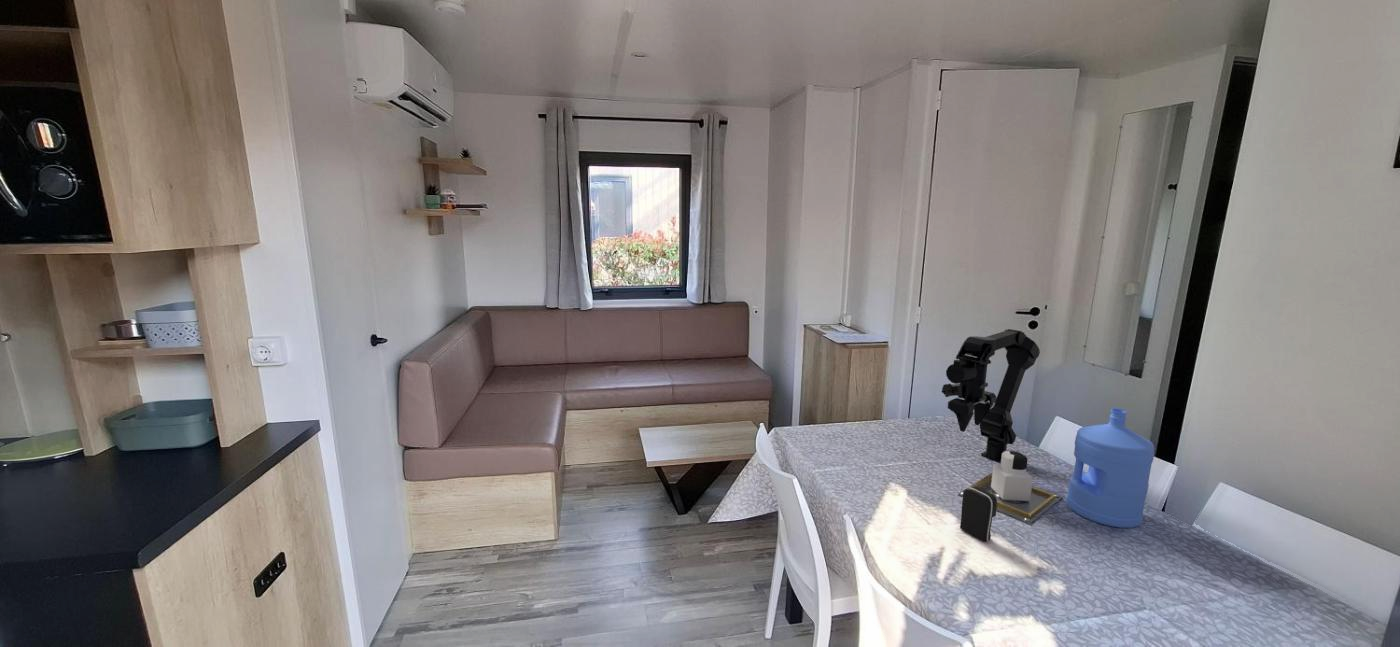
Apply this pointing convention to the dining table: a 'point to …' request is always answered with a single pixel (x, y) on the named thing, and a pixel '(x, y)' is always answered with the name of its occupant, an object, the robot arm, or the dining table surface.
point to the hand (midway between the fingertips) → (969, 427)
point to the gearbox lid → (1021, 502)
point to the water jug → (1111, 473)
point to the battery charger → (978, 512)
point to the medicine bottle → (1012, 477)
